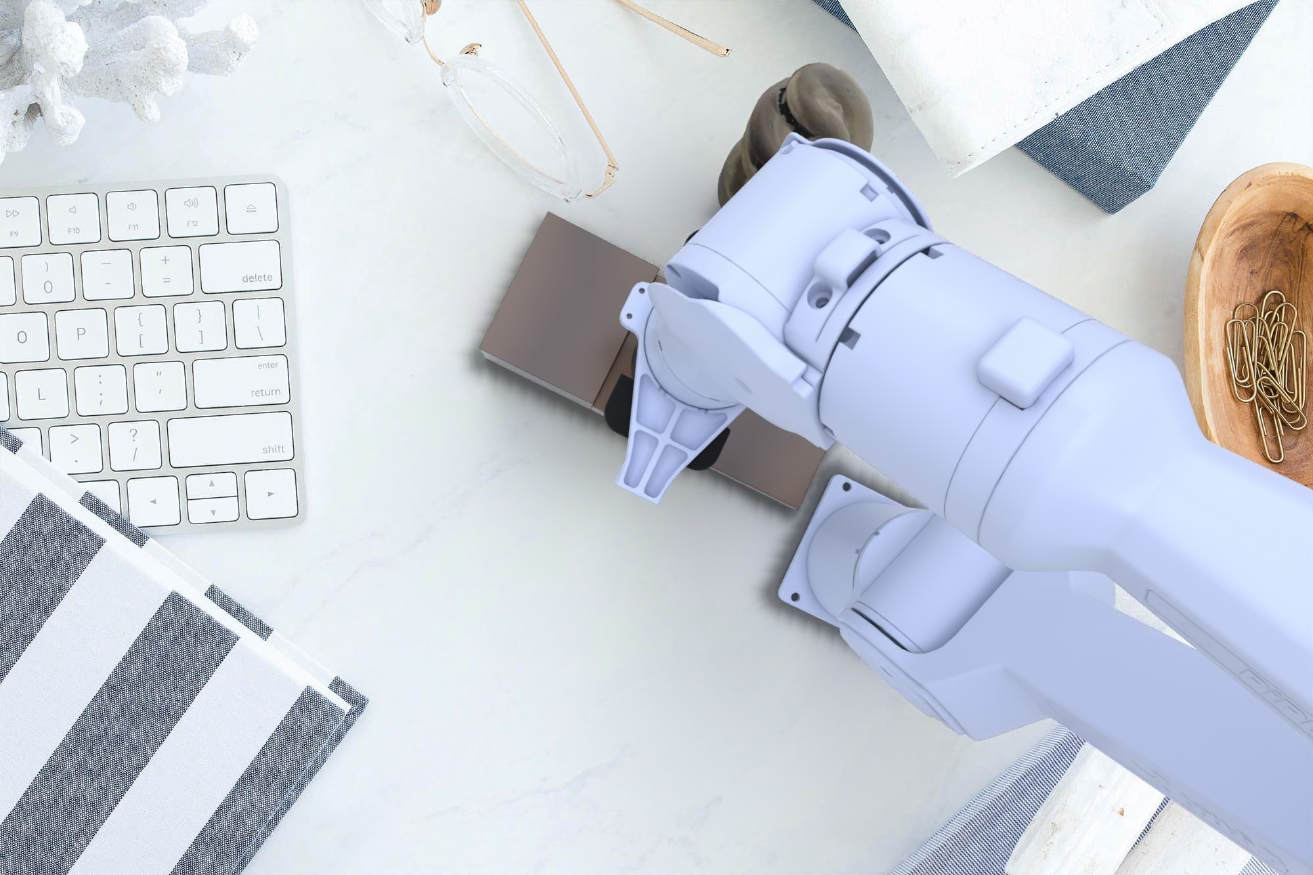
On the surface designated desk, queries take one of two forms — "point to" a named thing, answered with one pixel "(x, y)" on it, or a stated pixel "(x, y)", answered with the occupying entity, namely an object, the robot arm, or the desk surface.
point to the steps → (617, 349)
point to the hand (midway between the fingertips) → (681, 363)
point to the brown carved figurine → (798, 120)
